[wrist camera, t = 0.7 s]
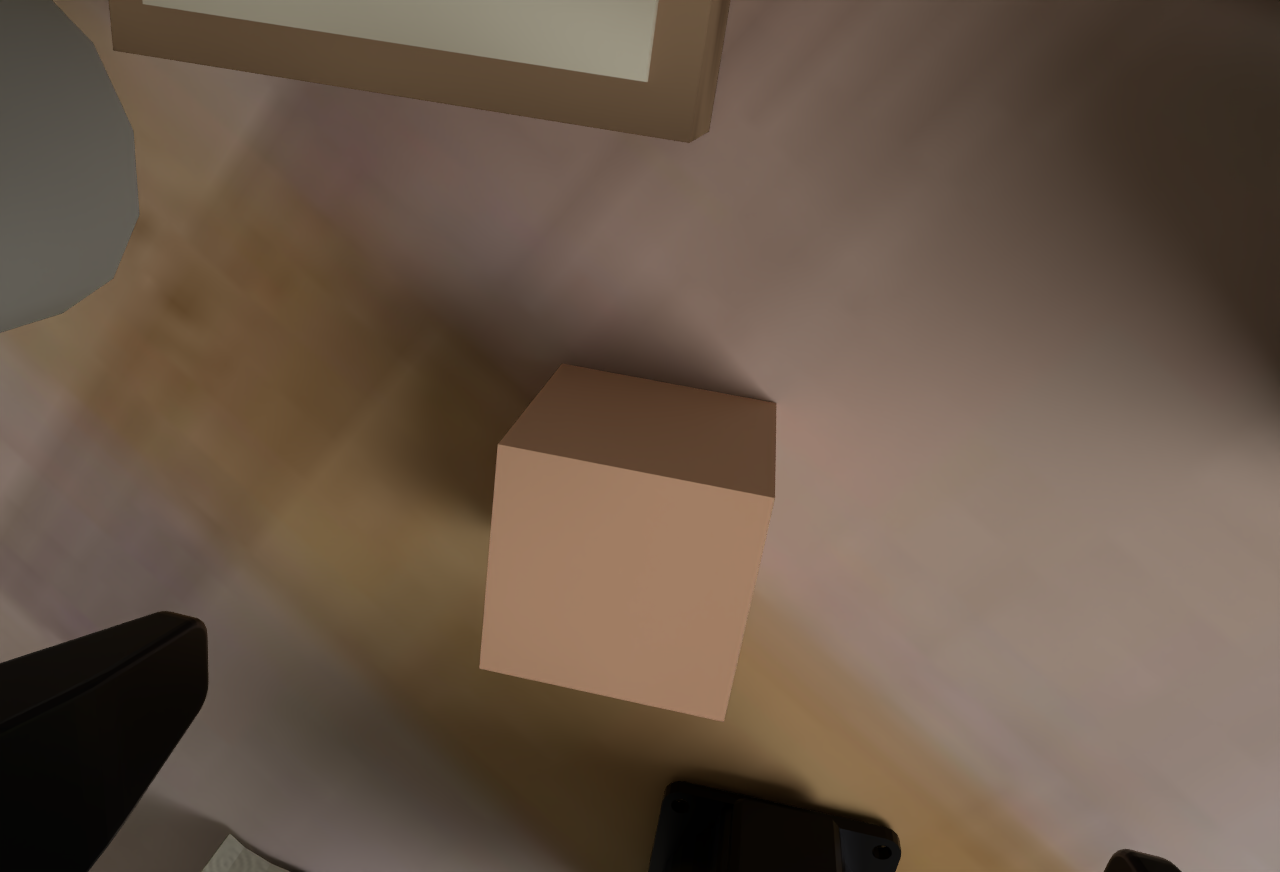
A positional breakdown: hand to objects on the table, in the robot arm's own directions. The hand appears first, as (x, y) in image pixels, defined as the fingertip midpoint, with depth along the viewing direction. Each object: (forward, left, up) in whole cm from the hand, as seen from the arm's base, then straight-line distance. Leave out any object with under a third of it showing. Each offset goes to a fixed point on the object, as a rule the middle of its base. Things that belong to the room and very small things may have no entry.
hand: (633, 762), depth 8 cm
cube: (-3, +1, -12) cm, 13 cm away
